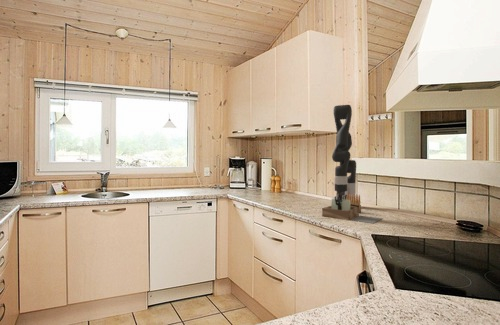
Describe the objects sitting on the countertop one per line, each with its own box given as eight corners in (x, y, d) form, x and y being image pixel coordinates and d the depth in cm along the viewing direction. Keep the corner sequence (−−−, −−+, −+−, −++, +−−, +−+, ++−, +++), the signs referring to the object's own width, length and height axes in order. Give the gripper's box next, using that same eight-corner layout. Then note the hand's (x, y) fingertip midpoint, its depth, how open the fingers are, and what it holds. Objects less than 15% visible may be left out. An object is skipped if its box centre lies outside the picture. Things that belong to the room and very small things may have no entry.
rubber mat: (360, 216, 199) (360, 215, 199) (382, 218, 191) (382, 218, 191) (350, 220, 186) (350, 219, 186) (373, 223, 178) (373, 223, 178)
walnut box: (333, 212, 210) (333, 204, 210) (358, 215, 200) (358, 207, 200) (322, 216, 198) (322, 208, 198) (348, 219, 187) (348, 211, 187)
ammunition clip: (361, 213, 208) (361, 194, 208) (359, 213, 207) (359, 194, 207) (347, 210, 217) (347, 192, 216) (345, 211, 216) (345, 192, 215)
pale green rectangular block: (333, 214, 203) (333, 198, 203) (350, 216, 197) (350, 199, 196) (331, 214, 201) (331, 198, 201) (348, 217, 195) (348, 200, 194)
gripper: (339, 182, 206) (339, 209, 207) (330, 183, 195) (330, 212, 196) (351, 182, 201) (351, 210, 202) (342, 184, 190) (341, 214, 191)
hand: (340, 211), depth 199 cm, fingers closed on pale green rectangular block, 2 cm apart
